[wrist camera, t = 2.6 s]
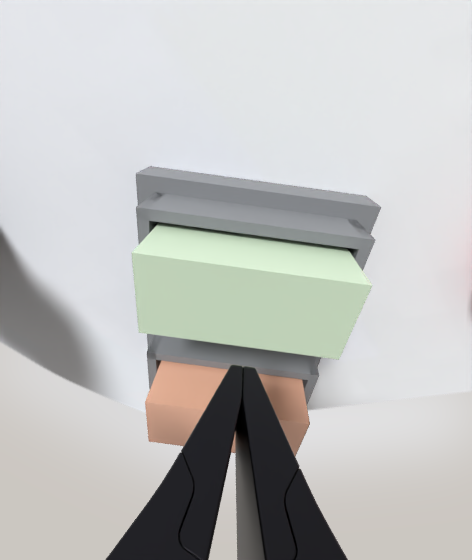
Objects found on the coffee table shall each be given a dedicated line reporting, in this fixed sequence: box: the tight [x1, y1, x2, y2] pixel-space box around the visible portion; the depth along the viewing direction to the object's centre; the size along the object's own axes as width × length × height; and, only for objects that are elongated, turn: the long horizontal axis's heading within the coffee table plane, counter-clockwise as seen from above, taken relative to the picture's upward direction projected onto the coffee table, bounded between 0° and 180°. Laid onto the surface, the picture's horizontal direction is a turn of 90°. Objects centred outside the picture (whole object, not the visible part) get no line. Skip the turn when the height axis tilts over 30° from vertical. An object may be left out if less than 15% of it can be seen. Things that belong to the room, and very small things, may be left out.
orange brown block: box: [145, 360, 310, 456], centre depth 19 cm, size 10×4×4 cm, turn 83°
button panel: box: [136, 166, 381, 405], centre depth 20 cm, size 14×18×6 cm
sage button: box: [132, 222, 372, 360], centre depth 14 cm, size 10×4×4 cm, turn 83°
